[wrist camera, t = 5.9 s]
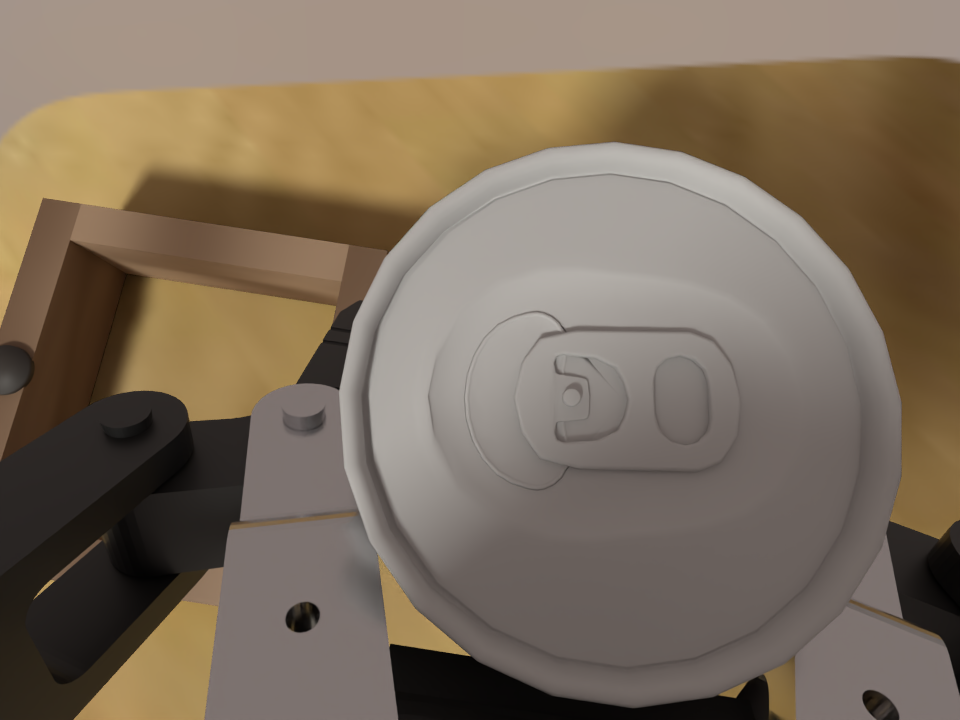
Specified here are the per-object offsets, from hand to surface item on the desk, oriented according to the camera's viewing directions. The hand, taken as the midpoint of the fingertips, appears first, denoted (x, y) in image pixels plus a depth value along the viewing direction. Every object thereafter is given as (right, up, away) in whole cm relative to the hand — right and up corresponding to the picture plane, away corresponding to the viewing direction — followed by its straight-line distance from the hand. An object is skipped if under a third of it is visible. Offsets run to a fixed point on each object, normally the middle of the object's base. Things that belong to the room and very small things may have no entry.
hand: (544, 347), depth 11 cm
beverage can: (0, -3, +5) cm, 6 cm away
